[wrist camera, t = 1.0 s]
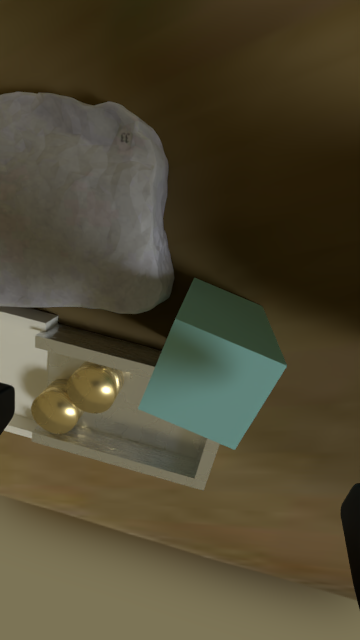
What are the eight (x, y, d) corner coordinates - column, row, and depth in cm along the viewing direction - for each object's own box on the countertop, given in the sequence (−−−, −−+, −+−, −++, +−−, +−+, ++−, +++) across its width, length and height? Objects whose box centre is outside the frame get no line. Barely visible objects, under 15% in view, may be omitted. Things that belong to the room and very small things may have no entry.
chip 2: (126, 363, 19) (117, 378, 17) (120, 401, 20) (110, 418, 18) (82, 351, 19) (68, 365, 17) (78, 389, 20) (64, 406, 18)
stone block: (-17, 133, 17) (-7, 300, 19) (-101, 79, 13) (-79, 308, 14) (181, 130, 16) (175, 308, 18) (169, 70, 12) (163, 319, 13)
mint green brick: (262, 306, 17) (287, 365, 10) (230, 365, 18) (234, 449, 12) (194, 277, 17) (175, 318, 10) (168, 338, 18) (137, 408, 12)
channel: (236, 370, 18) (238, 388, 16) (205, 464, 21) (203, 490, 19) (54, 322, 19) (35, 335, 17) (49, 420, 22) (31, 441, 20)
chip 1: (90, 385, 20) (77, 401, 18) (86, 420, 21) (74, 438, 19) (48, 374, 20) (31, 389, 18) (46, 409, 21) (30, 426, 19)
